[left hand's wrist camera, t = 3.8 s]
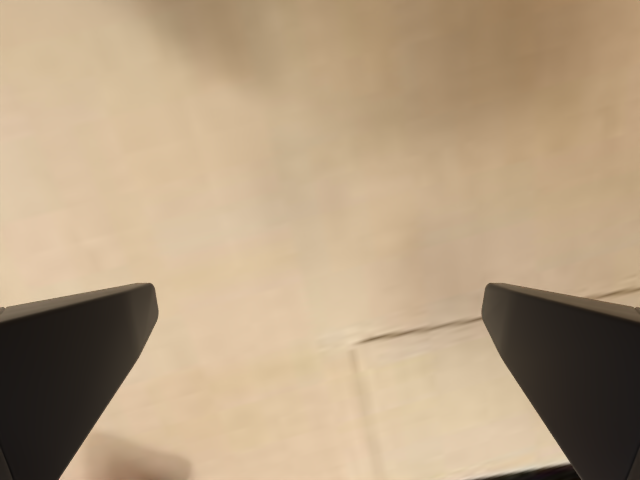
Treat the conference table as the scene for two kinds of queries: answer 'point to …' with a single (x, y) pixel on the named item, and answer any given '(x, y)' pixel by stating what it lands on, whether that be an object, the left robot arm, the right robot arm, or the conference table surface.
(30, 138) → the conference table surface
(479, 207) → the conference table surface
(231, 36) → the conference table surface
